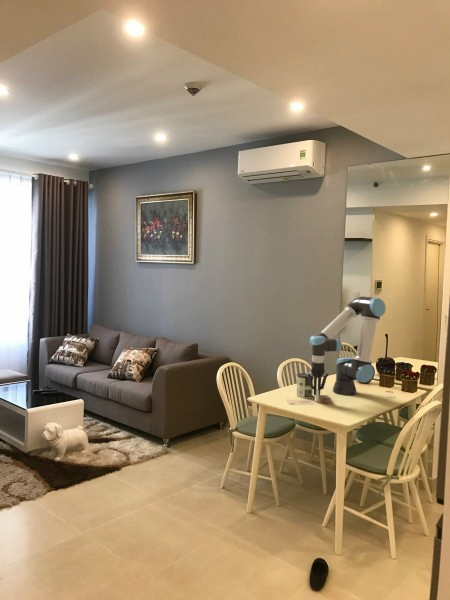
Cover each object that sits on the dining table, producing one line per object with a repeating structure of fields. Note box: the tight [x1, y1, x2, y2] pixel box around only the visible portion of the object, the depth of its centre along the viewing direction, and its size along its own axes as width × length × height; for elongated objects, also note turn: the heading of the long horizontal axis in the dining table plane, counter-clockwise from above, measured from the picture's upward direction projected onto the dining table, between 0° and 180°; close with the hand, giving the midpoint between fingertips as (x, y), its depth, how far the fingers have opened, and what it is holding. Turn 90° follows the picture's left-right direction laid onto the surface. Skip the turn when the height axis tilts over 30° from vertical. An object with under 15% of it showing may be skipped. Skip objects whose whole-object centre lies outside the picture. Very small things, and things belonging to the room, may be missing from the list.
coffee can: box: [295, 372, 314, 399], centre depth 307 cm, size 10×10×14 cm
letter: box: [285, 399, 317, 406], centre depth 293 cm, size 16×12×1 cm
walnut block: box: [316, 394, 332, 405], centre depth 294 cm, size 7×7×4 cm
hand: (316, 400), depth 294 cm, fingers closed
